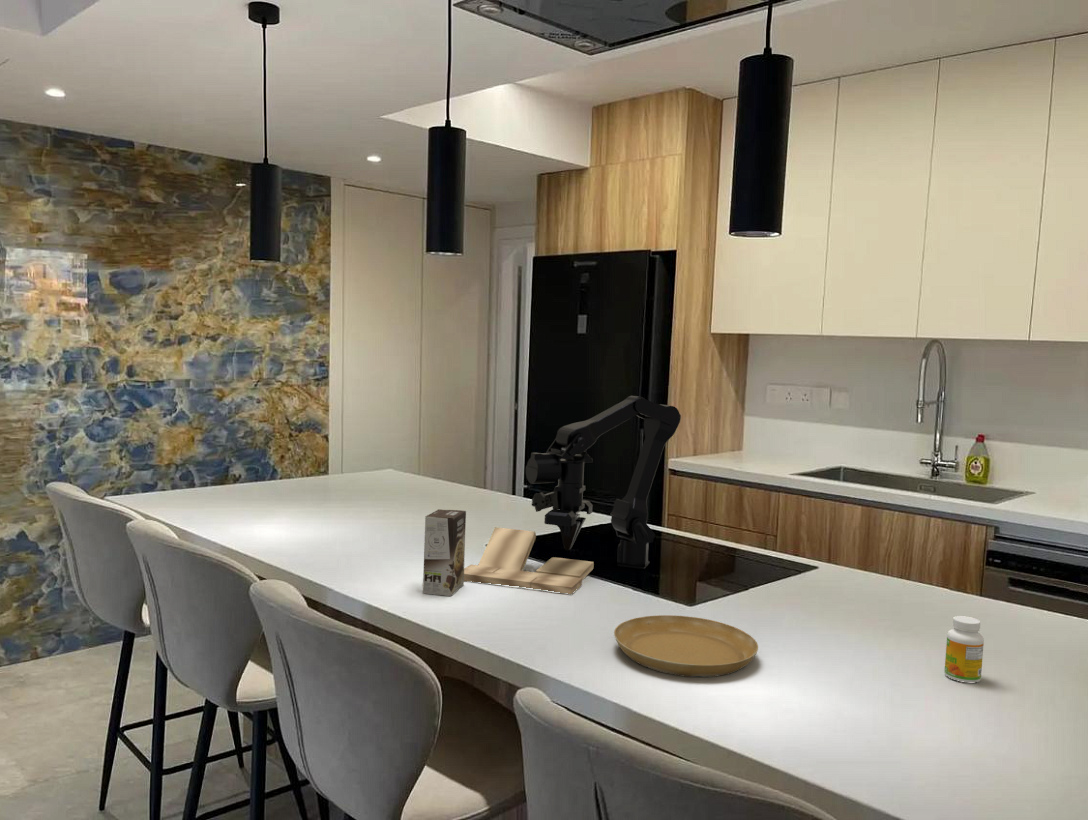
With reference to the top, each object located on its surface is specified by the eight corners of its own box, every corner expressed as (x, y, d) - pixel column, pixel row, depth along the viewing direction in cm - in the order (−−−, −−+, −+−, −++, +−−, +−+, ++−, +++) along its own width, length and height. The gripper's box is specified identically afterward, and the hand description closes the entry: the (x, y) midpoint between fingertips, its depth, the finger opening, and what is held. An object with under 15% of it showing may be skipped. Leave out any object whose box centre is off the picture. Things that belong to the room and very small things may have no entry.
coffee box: (451, 596, 175) (454, 518, 174) (421, 593, 177) (423, 515, 175) (464, 585, 184) (467, 510, 183) (436, 582, 186) (438, 507, 184)
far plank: (536, 536, 202) (535, 531, 201) (520, 575, 193) (519, 570, 192) (496, 531, 205) (495, 527, 204) (479, 570, 196) (478, 565, 195)
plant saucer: (785, 677, 139) (787, 657, 139) (647, 689, 132) (648, 668, 132) (714, 629, 162) (715, 611, 162) (593, 636, 155) (594, 618, 155)
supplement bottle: (937, 671, 143) (941, 614, 143) (968, 671, 144) (972, 614, 143) (955, 684, 138) (960, 624, 137) (987, 684, 139) (992, 625, 138)
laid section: (581, 585, 187) (582, 577, 187) (571, 595, 180) (571, 587, 180) (470, 571, 195) (471, 564, 195) (456, 580, 188) (456, 572, 188)
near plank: (593, 568, 200) (593, 561, 200) (579, 583, 189) (579, 576, 189) (552, 563, 203) (552, 557, 203) (535, 577, 192) (536, 570, 192)
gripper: (549, 473, 208) (546, 537, 209) (523, 484, 190) (520, 554, 191) (594, 477, 204) (591, 542, 206) (572, 489, 187) (569, 560, 188)
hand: (567, 549), depth 198 cm, fingers closed
